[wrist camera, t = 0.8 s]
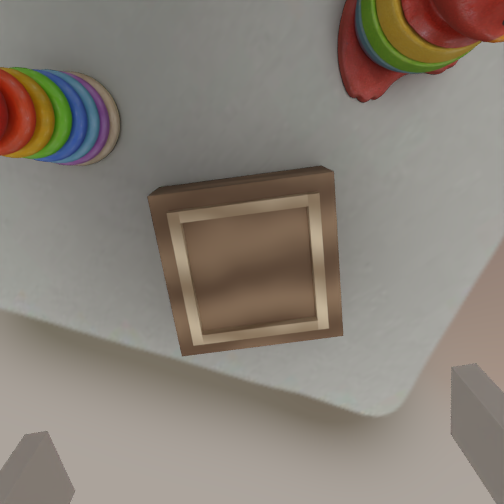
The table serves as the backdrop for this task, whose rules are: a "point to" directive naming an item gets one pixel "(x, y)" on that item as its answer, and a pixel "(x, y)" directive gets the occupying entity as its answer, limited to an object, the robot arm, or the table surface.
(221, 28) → the table surface
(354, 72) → the stacking bear
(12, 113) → the stacking toy
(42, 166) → the table surface
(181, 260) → the plinth
